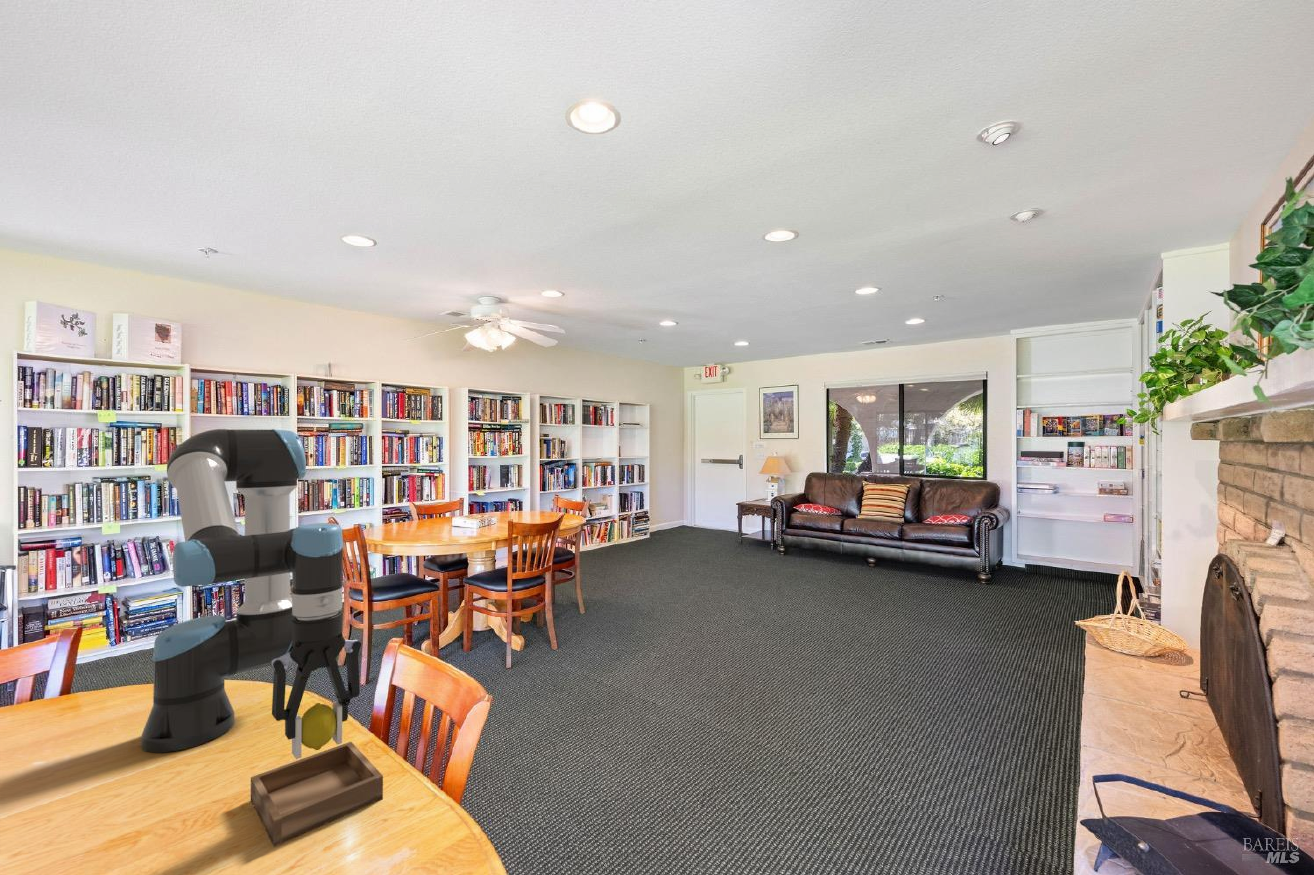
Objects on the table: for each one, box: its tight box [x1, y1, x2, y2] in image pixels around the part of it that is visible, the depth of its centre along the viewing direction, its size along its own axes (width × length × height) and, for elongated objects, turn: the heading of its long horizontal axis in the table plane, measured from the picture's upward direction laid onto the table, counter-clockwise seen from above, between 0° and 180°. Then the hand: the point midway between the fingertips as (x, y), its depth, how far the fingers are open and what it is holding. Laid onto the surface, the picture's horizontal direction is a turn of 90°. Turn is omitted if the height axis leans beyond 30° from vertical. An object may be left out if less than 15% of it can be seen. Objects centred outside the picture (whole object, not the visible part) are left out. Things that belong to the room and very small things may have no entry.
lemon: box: [301, 702, 336, 751], centre depth 97 cm, size 6×6×8 cm
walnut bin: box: [250, 741, 384, 848], centre depth 97 cm, size 16×16×4 cm
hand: (317, 747), depth 97 cm, fingers closed on lemon, 5 cm apart
